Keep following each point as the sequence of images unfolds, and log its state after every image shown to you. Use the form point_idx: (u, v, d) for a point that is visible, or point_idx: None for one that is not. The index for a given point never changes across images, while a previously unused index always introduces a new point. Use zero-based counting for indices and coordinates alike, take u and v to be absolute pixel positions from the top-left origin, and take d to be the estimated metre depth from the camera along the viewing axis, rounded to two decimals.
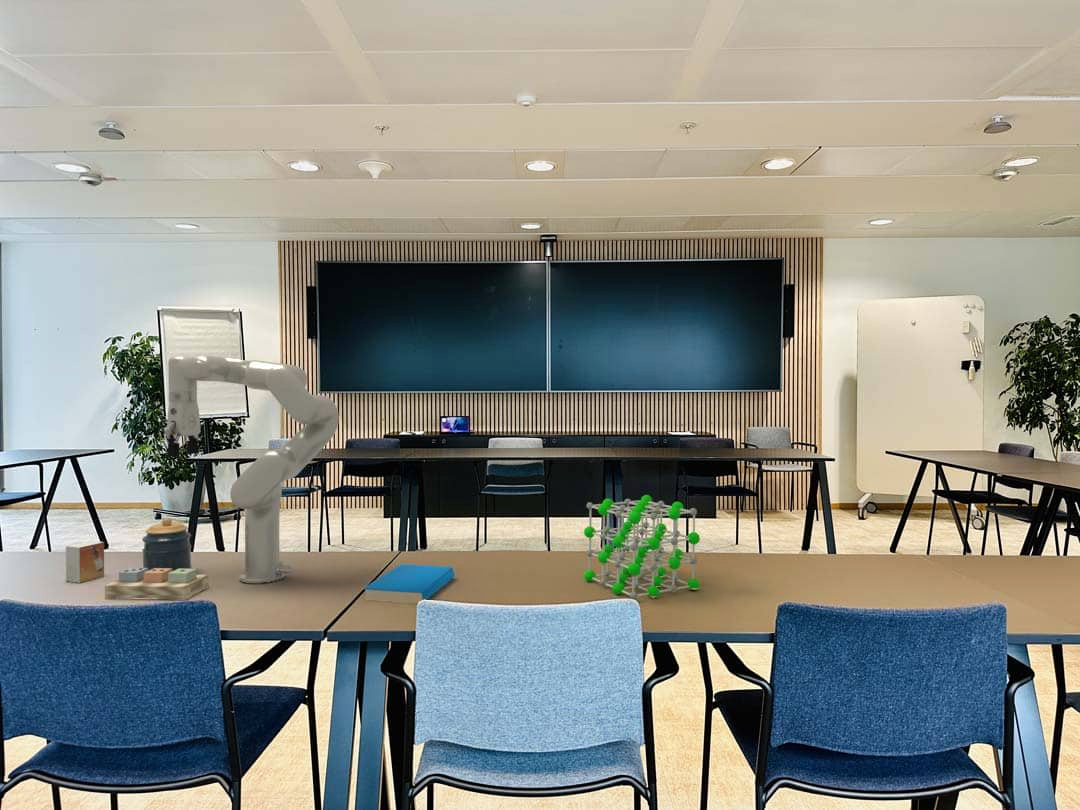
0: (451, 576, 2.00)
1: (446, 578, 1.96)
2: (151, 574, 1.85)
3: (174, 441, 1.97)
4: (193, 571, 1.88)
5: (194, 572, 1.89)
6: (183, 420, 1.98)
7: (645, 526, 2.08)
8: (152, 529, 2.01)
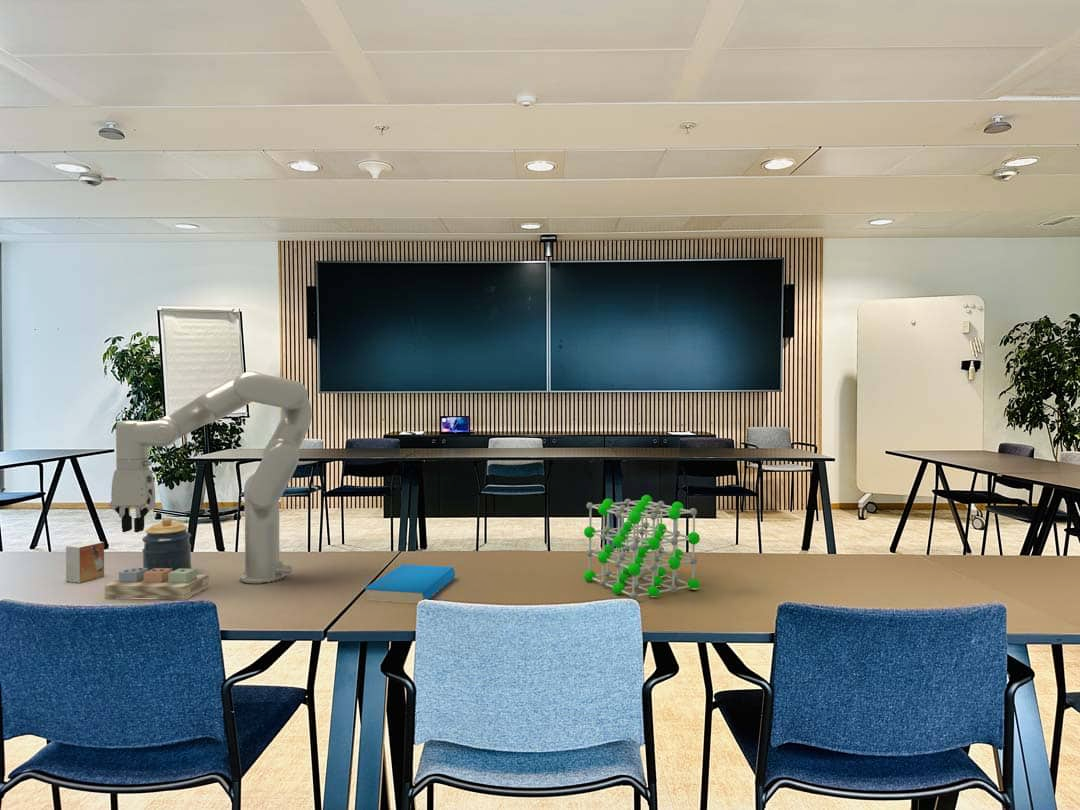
0: (452, 576, 2.00)
1: (447, 578, 1.96)
2: (151, 574, 1.85)
3: (145, 515, 1.88)
4: (193, 571, 1.88)
5: (194, 572, 1.89)
6: None
7: (645, 526, 2.08)
8: (152, 529, 2.01)
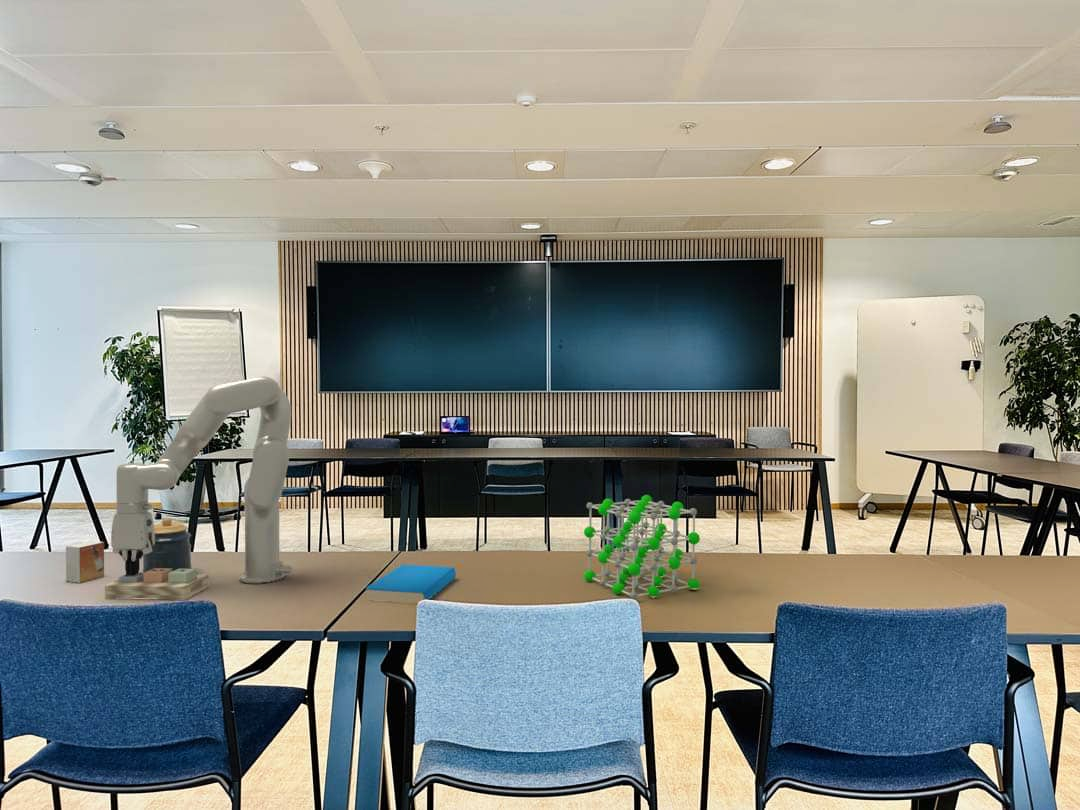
0: (453, 576, 2.00)
1: (448, 578, 1.95)
2: (151, 574, 1.85)
3: (140, 558, 1.89)
4: (193, 571, 1.88)
5: (194, 572, 1.89)
6: None
7: (645, 526, 2.08)
8: None
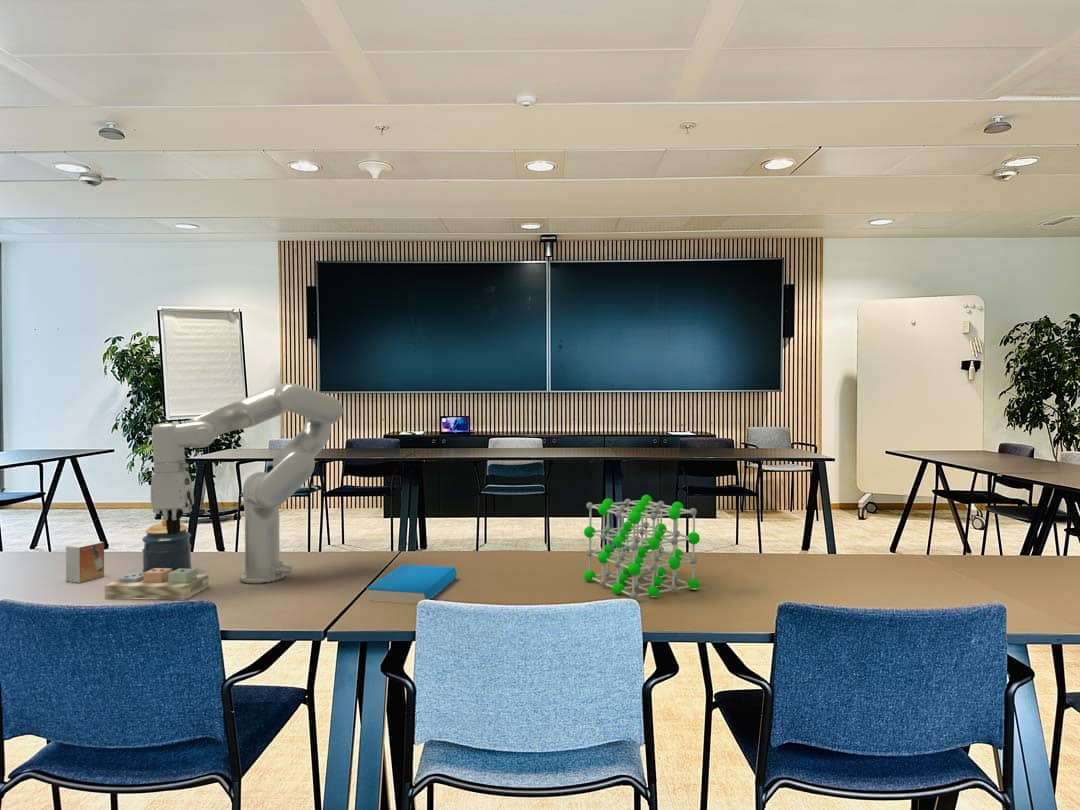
0: (453, 576, 1.99)
1: (448, 578, 1.95)
2: (151, 574, 1.85)
3: None
4: (193, 571, 1.88)
5: (194, 572, 1.89)
6: None
7: (645, 526, 2.08)
8: (152, 529, 2.01)
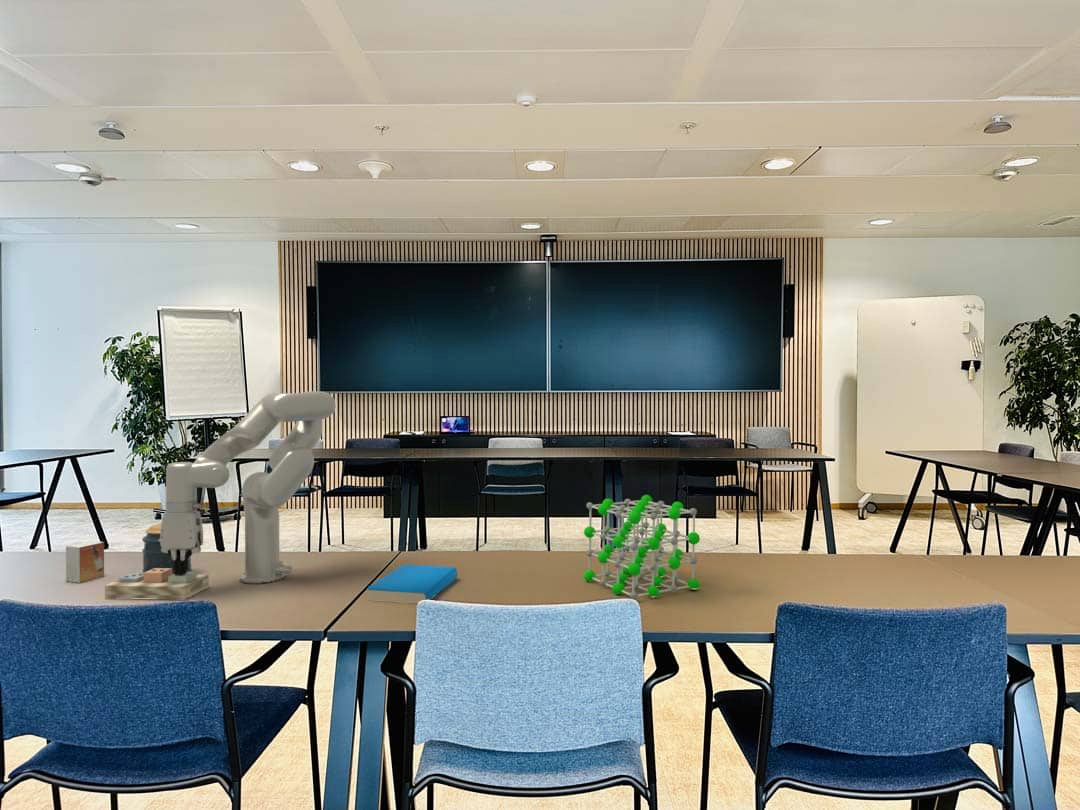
0: (454, 576, 1.99)
1: (449, 578, 1.95)
2: (151, 574, 1.85)
3: None
4: (193, 574, 1.88)
5: (194, 575, 1.89)
6: None
7: (645, 526, 2.08)
8: (152, 529, 2.01)
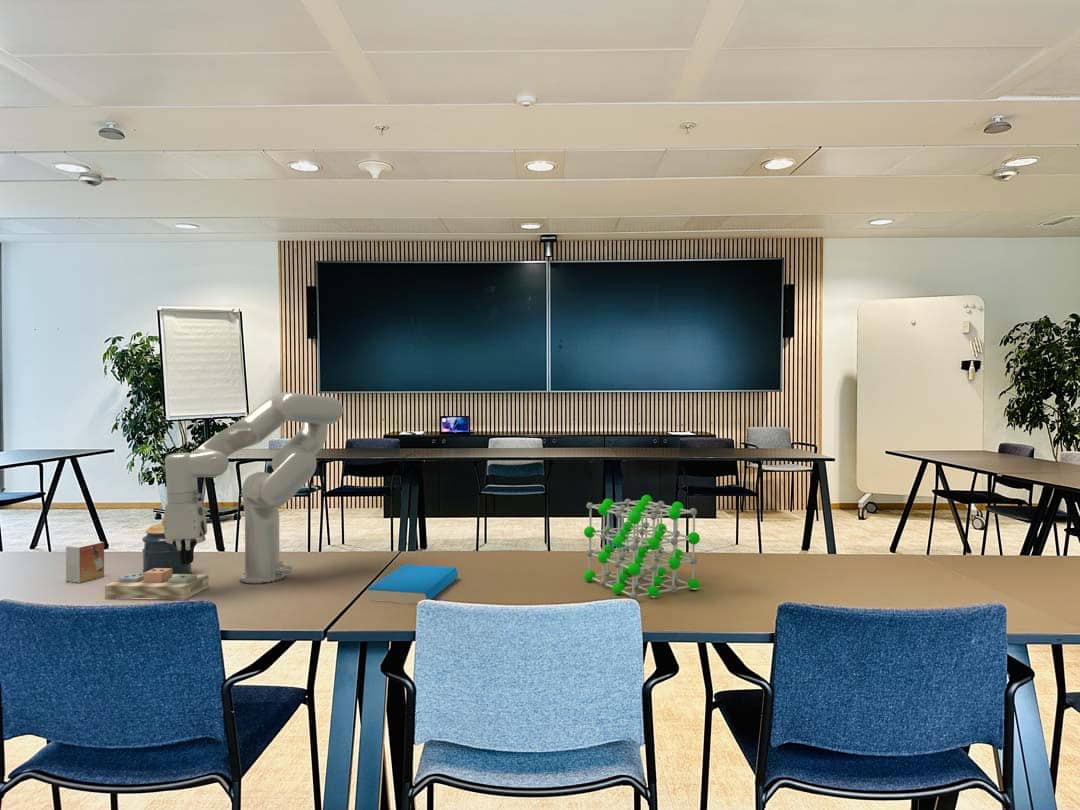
0: (454, 576, 1.99)
1: (450, 578, 1.95)
2: (151, 574, 1.85)
3: (193, 547, 1.89)
4: (193, 577, 1.88)
5: (194, 578, 1.89)
6: None
7: (645, 526, 2.08)
8: (152, 529, 2.01)
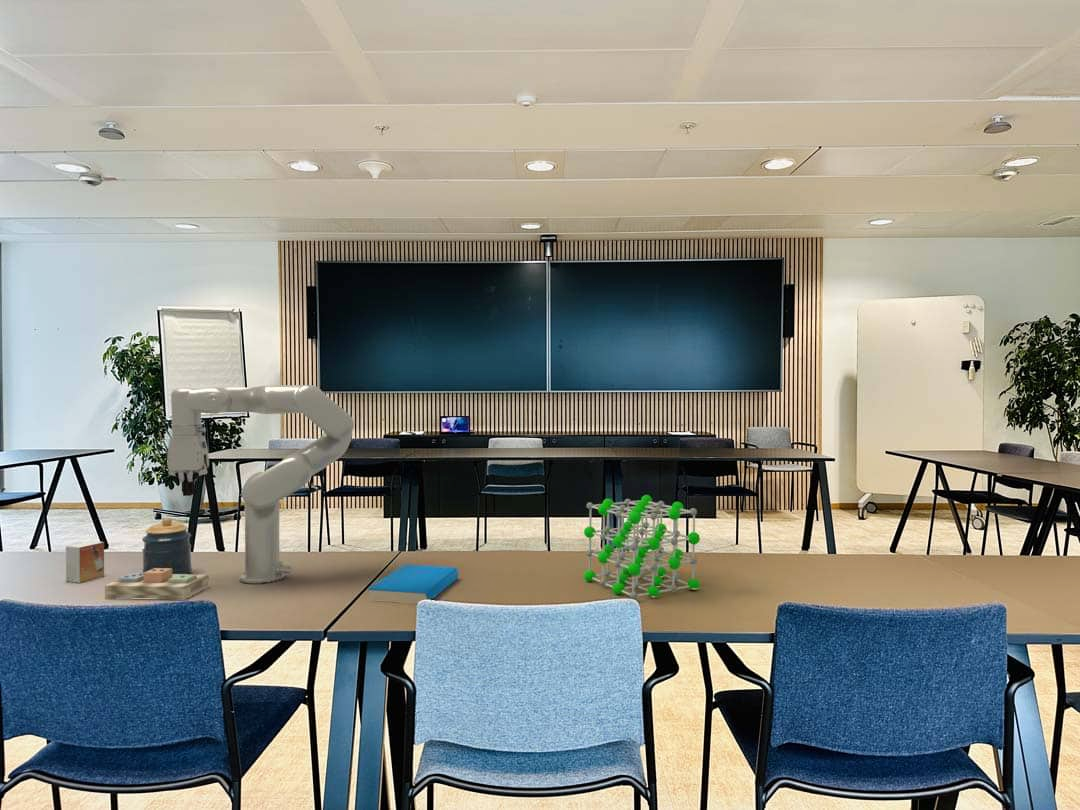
0: (455, 576, 1.99)
1: (450, 578, 1.95)
2: (151, 574, 1.85)
3: (195, 480, 1.96)
4: (193, 577, 1.88)
5: (194, 578, 1.89)
6: None
7: (645, 526, 2.08)
8: (152, 529, 2.01)
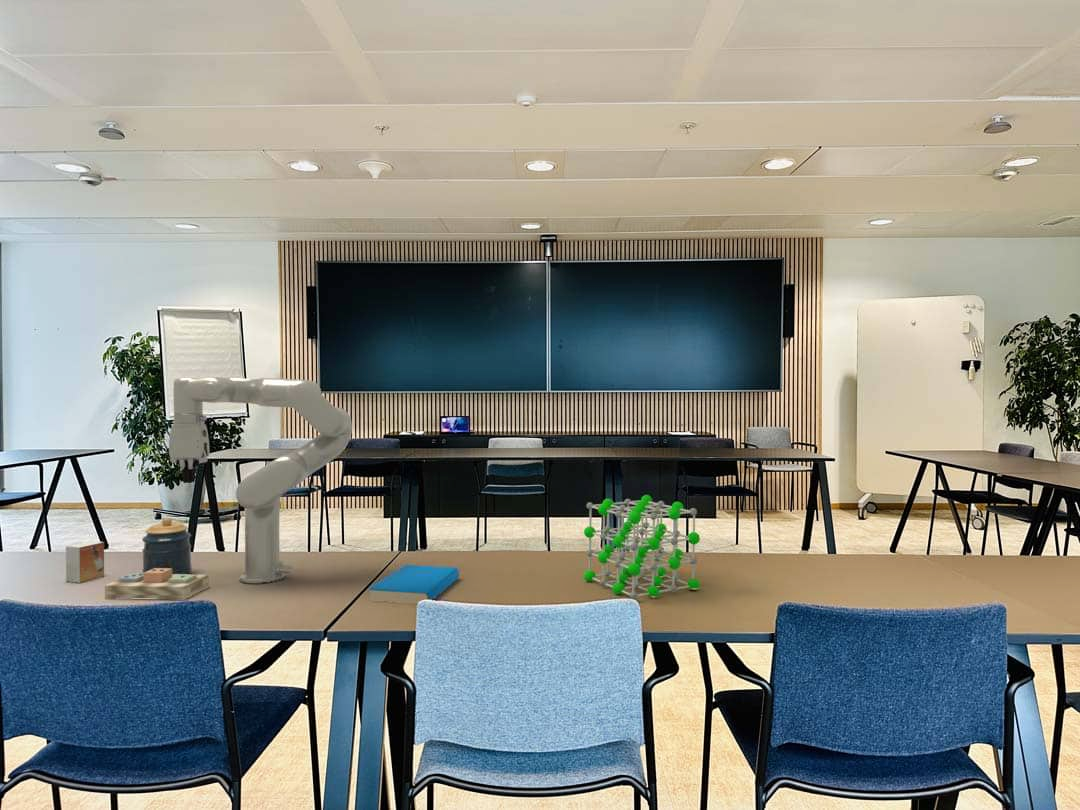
0: (456, 576, 1.99)
1: (451, 578, 1.95)
2: (151, 574, 1.85)
3: None
4: (193, 577, 1.88)
5: (194, 578, 1.89)
6: None
7: (645, 526, 2.08)
8: (152, 529, 2.01)
